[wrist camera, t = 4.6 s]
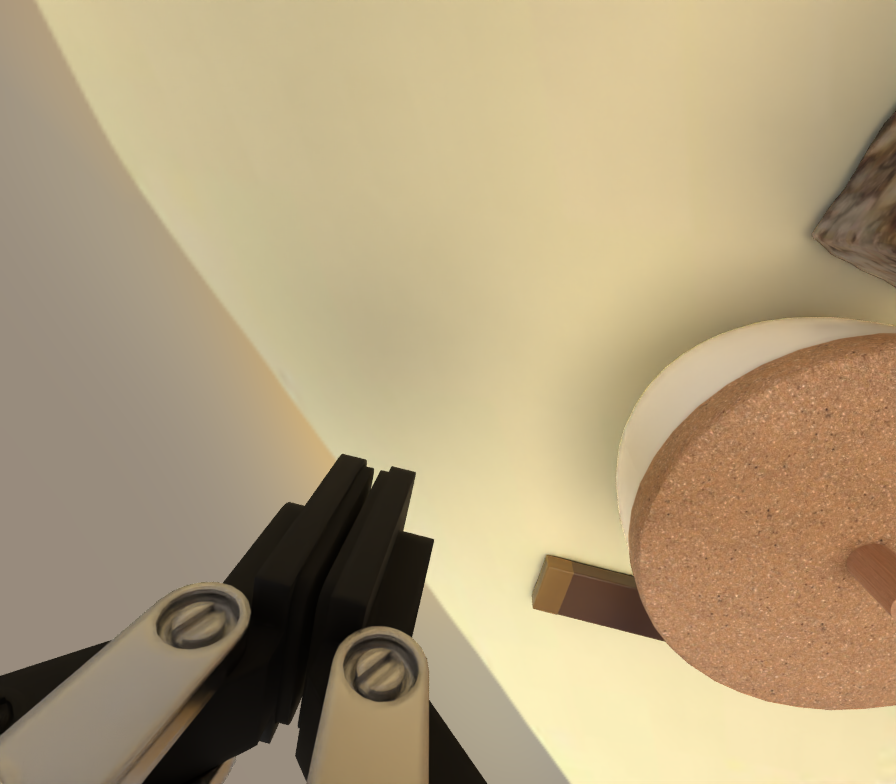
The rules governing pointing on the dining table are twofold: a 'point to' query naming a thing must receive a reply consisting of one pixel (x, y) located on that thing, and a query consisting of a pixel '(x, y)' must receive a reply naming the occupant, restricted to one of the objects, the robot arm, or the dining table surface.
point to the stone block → (867, 211)
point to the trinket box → (771, 510)
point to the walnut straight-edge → (592, 596)
